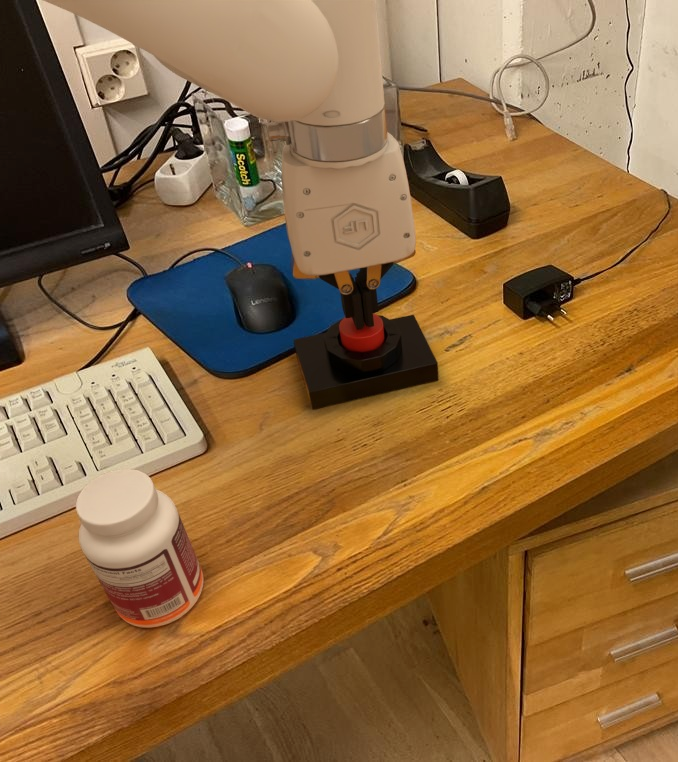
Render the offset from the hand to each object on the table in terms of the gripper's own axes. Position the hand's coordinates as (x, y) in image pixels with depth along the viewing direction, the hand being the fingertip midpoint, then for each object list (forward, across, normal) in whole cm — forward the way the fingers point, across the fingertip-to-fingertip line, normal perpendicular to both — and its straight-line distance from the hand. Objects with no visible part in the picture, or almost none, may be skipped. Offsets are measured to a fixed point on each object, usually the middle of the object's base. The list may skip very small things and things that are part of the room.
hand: (361, 319), depth 74 cm
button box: (+6, 0, 0) cm, 6 cm away
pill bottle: (+6, -20, -20) cm, 29 cm away
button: (+2, 0, 0) cm, 2 cm away
